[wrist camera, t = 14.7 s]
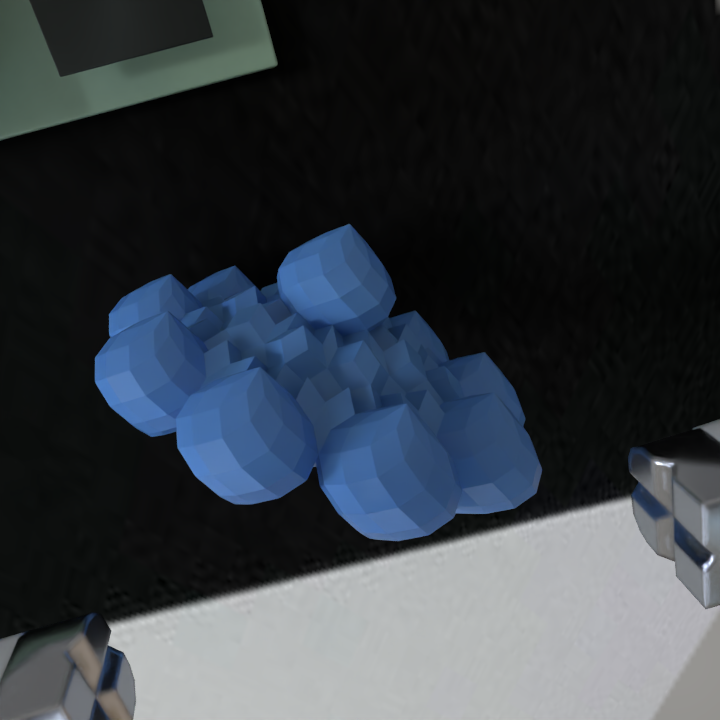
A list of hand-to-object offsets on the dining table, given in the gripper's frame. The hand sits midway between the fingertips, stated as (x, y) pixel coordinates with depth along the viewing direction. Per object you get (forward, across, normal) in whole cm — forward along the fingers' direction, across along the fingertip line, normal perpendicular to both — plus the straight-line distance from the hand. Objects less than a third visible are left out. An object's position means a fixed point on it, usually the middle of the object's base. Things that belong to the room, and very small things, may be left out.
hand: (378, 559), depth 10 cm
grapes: (+15, 0, 0) cm, 15 cm away
